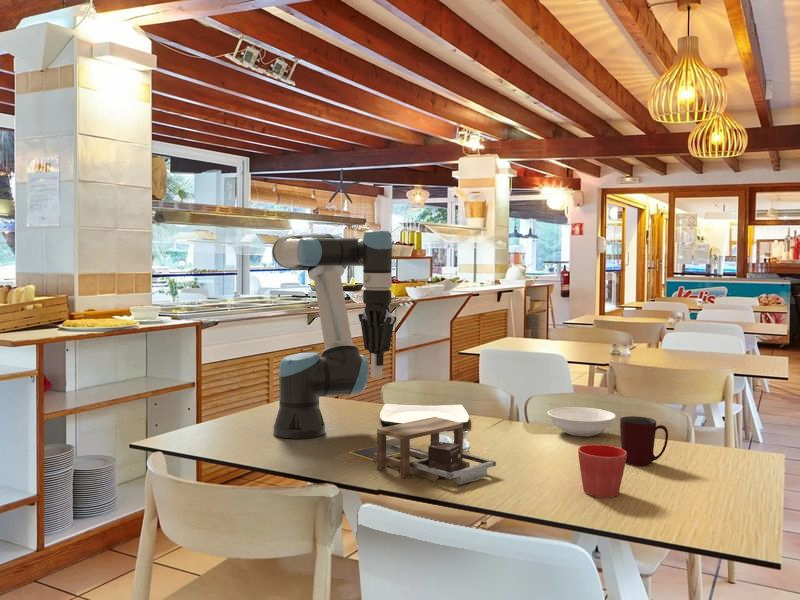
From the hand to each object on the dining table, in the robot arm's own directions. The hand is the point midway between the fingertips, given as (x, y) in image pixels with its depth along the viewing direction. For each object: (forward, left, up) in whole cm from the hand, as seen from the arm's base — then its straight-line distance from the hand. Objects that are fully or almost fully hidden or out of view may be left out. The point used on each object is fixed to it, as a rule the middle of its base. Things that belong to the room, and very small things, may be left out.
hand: (376, 377), depth 202 cm
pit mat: (+1, 0, -20) cm, 20 cm away
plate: (-20, +38, -21) cm, 48 cm away
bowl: (+25, +59, -21) cm, 67 cm away
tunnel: (+17, 0, -20) cm, 27 cm away
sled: (+20, 0, -20) cm, 29 cm away
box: (+26, -1, -21) cm, 34 cm away
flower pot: (+59, +16, -21) cm, 65 cm away
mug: (+53, +45, -21) cm, 73 cm away
